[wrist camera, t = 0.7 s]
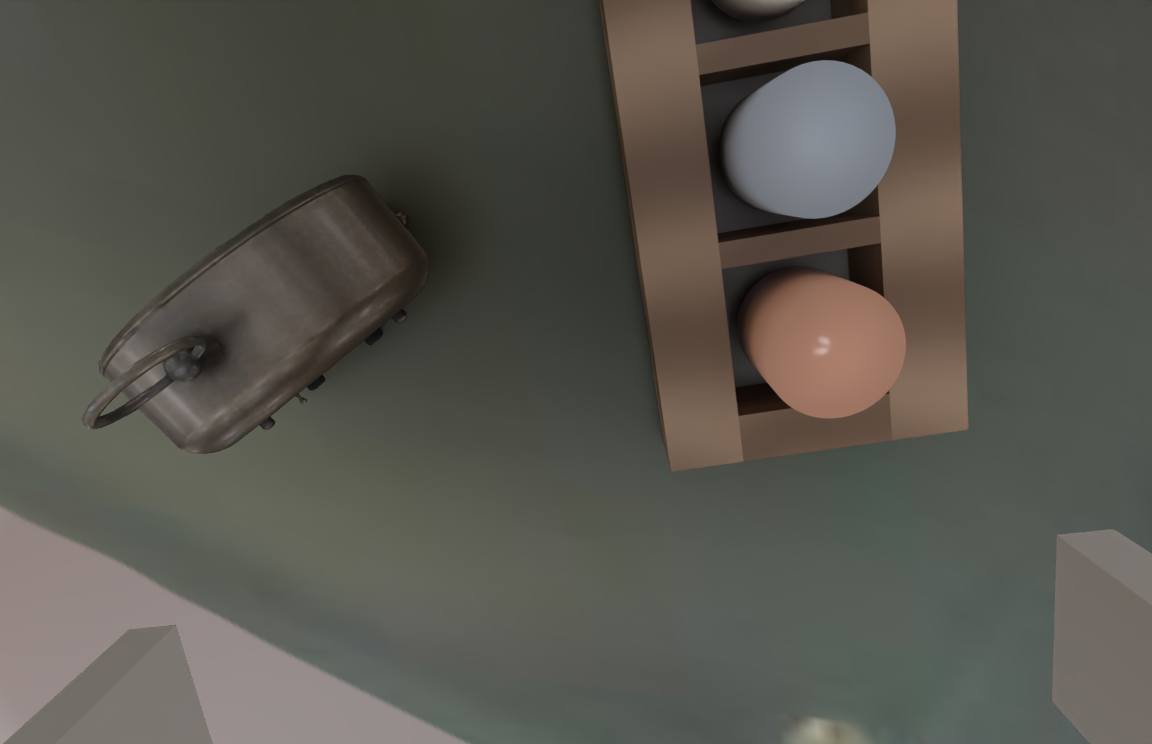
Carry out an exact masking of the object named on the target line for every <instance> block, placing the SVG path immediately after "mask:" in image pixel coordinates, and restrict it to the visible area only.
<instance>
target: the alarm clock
mask: <svg viewBox="0 0 1152 744" xmlns="http://www.w3.org/2000/svg"><path fill="white" fill-rule="evenodd" d="M407 223H408V216H407V215H406V214H405V213H404V212H402V211H398V212H397V213H396V214H394V213H393V212H392V211H391V209H390V208H389V207H388V206H387V205H386V203H385V202H384V201H383V200H382V199H381V197H380V196H379V195H378V194H377V192H376V191H375V190H374V189H373V188H372V186H371V185H370V184H369V183H368V181H367V180H366V179H365V178H363V177H362V176H358V175H344V176H341V177H338V178H335V179H333V180H330V181H328V182H325V183H323V184H321V185H319V186H317V187H315V188H313V189H311V190H309V191H307V192H305V193H303V194H301V195H299V196H297V197H295V198H293V199H291V200H289V201H287V202H286V203H284V204H283V205H281V206H280V207H278V208H277V209H275V210H273V211H272V212H270V213H268V214H266V215H265V216H264V217H263V218H262V219H260V220H259V221H257V222H256V223H254V224H252V225H250V226H249V227H248V228H246V229H245V230H244V231H242V232H240V233H239V234H238V235H236V236H235V237H233V238H231V239H230V240H228V241H227V242H225V243H224V244H223V245H221V246H219V247H218V248H217V249H216V250H214V251H213V252H211V253H210V254H208V255H207V256H206V257H204V258H203V259H201V260H200V261H198V262H197V263H196V264H195V265H194V266H193V267H191V268H190V269H189V270H188V271H186V272H185V273H183V274H182V275H181V276H180V277H178V278H177V279H176V280H175V281H174V282H173V283H171V284H170V285H169V286H168V287H167V288H166V289H164V290H163V291H162V292H161V293H160V294H158V295H157V296H156V297H155V298H154V299H153V300H152V301H151V302H149V303H148V304H147V305H146V306H145V307H144V308H143V309H142V310H141V311H140V312H139V313H138V314H137V315H136V316H134V317H133V318H132V319H131V320H130V321H129V322H128V324H127V325H126V326H125V327H124V328H123V329H122V330H121V331H120V332H119V333H118V335H117V336H116V337H115V338H114V339H113V340H112V341H111V343H110V344H109V346H108V347H107V348H106V350H105V351H104V353H103V354H102V355H101V357H100V360H99V371H100V374H101V375H102V376H103V377H105V378H107V379H108V380H109V381H110V382H111V384H110V385H109V386H108V387H107V388H106V389H105V390H103V391H102V392H101V393H100V394H99V395H98V396H97V397H96V398H95V399H94V400H93V401H92V403H91V404H90V405H89V406H88V408H87V410H86V412H85V413H84V415H83V416H82V421H83V424H84V426H86V427H87V428H89V429H98V428H102V427H105V426H107V425H109V424H111V423H113V422H115V421H117V420H119V419H121V418H123V417H125V416H127V415H129V414H130V413H132V412H134V411H136V410H137V409H139V410H140V411H141V412H142V413H143V414H144V415H146V416H147V417H148V418H149V419H150V420H151V421H152V422H153V423H154V424H155V425H156V426H157V427H158V428H159V429H160V430H161V431H162V432H163V433H164V434H165V435H166V436H167V437H168V438H169V439H170V440H171V441H172V442H173V443H174V444H175V445H176V446H177V447H178V448H180V449H182V450H184V451H187V452H190V453H198V454H207V453H214V452H217V451H221V450H223V449H226V448H228V447H230V446H232V445H233V444H235V443H236V442H238V441H239V440H240V439H242V438H243V437H244V436H245V435H247V434H248V433H249V432H251V431H252V430H253V429H255V428H256V427H257V426H258V425H260V426H261V427H262V428H263V429H264V430H268V429H270V428H272V427H273V426H274V424H275V421H274V420H273V419H272V418H271V415H273V414H274V413H275V412H276V411H277V410H279V409H280V408H281V407H282V406H283V405H285V404H286V403H287V402H288V401H289V400H291V399H292V398H293V397H294V396H296V397H298V398H299V400H300V402H301V404H304V403H306V402H307V399H305V398H303V397H301V396H300V395H299V392H301V391H302V390H303V389H305V388H306V387H308V389H309V390H314V389H316V388H318V387H319V386H320V385H321V384H322V383H323V382H325V377H324V376H323V375H322V374H323V373H325V372H326V371H327V370H328V369H330V368H331V367H332V366H333V365H334V364H336V363H337V362H338V361H339V360H341V359H342V358H343V357H344V356H345V355H347V354H348V353H349V352H350V351H352V350H353V349H354V348H355V347H356V346H358V345H359V344H360V343H361V342H362V341H365V342H366V343H367V344H369V345H372V344H374V343H375V342H376V341H377V340H379V339H380V338H381V336H382V335H383V332H382V330H381V329H380V328H379V327H380V326H382V325H383V324H384V323H385V322H386V321H388V320H389V319H390V318H392V319H393V320H394V321H395V322H396V323H398V324H399V323H402V322H404V321H405V320H406V318H407V313H406V312H405V311H404V310H403V309H402V308H403V307H404V306H405V305H407V304H408V303H409V302H410V301H411V300H412V299H413V298H415V297H416V296H417V295H418V293H419V292H420V291H421V289H422V288H423V286H424V284H425V282H426V280H427V276H428V269H429V265H428V258H427V255H426V252H425V251H424V250H423V248H422V247H421V246H420V244H419V243H418V242H417V241H416V240H415V238H414V237H413V236H412V235H411V233H410V232H409V231H408V230H407V229H406V227H405V225H406V224H407ZM120 392H122V393H123V394H124V395H125V396H126V397H127V398H128V399H129V400H130V401H129V402H127V403H126V404H124V405H123V406H121V407H119V408H118V409H116V410H115V411H113V412H110V413H108V414H105V415H103V416H100V414H101V412H102V411H103V410H104V409H105V407H106V406H107V405H108V404H109V403H110V402H111V401H112V400H113V399H114V398H115V397H116V396H117V395H118V394H119V393H120ZM99 416H100V417H99Z"/></svg>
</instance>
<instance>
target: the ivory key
mask: <svg viewBox="0 0 1152 744" xmlns="http://www.w3.org/2000/svg"><path fill="white" fill-rule="evenodd" d="M711 1H712V2H713V3H714V4H715V5H716V6H717V7H718V8H719V9H720V10H722V11H723V12H725V13H726V14H728V15H730V16H732V17H734V18H736V19H739V20H742V21H748V22H766V21H771V20H775V19H778V18H780V17H783V16H785V15H787V14H789V13H790V12H792V11H793V10H795V9H796V8H797V7H799V6H800V5H801V4H802V3H803V2H805V1H806V0H711Z"/></svg>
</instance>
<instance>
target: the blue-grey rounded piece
mask: <svg viewBox="0 0 1152 744" xmlns="http://www.w3.org/2000/svg"><path fill="white" fill-rule="evenodd" d="M895 138H896V127H895V118H894V114H893V110H892V107H891V104H890V102H889V99H888V97H887V96H886V94H885V92H884V91H883V89H882V88H881V87H880V85H879V84H878V83H877V82H876V81H875V80H874V79H873V78H872V77H871V76H870V75H869V74H867V73H866V72H864V71H863V70H861V69H859V68H857V67H855V66H853V65H850V64H847V63H844V62H839V61H831V60H821V61H813V62H809V63H805V64H802V65H799V66H797V67H794V68H792V69H790V70H788V71H787V72H785V73H783V74H781V75H780V76H778V77H776V78H775V79H773V80H771V81H770V82H768V83H766V84H765V85H763V86H761V87H760V88H758V89H756V90H755V91H753V92H751V93H750V94H748V95H747V96H746V97H744V98H743V99H742V100H741V101H740V102H739V103H738V104H737V105H736V106H735V107H734V108H733V110H732V111H731V112H730V114H729V115H728V117H727V118H726V120H725V122H724V125H723V127H722V130H721V133H720V136H719V141H718V149H717V155H718V165H719V169H720V172H721V176H722V178H723V180H724V182H725V184H726V186H727V187H728V189H729V190H730V191H731V192H732V194H733V195H734V196H735V197H736V198H737V199H739V200H740V201H741V202H742V203H744V204H746V205H747V206H749V207H751V208H753V209H756V210H760V211H764V212H770V213H776V214H782V215H788V216H794V217H800V218H809V219H817V218H825V217H830V216H834V215H837V214H839V213H842V212H845V211H846V210H848V209H850V208H852V207H854V206H855V205H857V204H858V203H860V202H861V201H862V200H863V199H865V198H866V197H867V196H868V195H869V194H870V193H871V192H872V191H873V190H874V189H875V188H876V186H877V185H878V183H879V182H880V181H881V179H882V178H883V176H884V174H885V172H886V170H887V169H888V166H889V164H890V161H891V158H892V155H893V151H894V146H895Z"/></svg>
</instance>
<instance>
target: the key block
mask: <svg viewBox="0 0 1152 744" xmlns="http://www.w3.org/2000/svg"><path fill="white" fill-rule="evenodd" d="M599 6H600V13H601V20H602V26H603V33H604V40H605V47H606V54H607V61H608V68H609V74H610V81H611V88H612V95H613V102H614V109H615V116H616V122H617V129H618V136H619V143H620V150H621V157H622V163H623V170H624V177H625V184H626V191H627V198H628V205H629V211H630V218H631V225H632V232H633V239H634V246H635V253H636V259H637V266H638V273H639V280H640V287H641V294H642V301H643V307H644V314H645V321H646V328H647V335H648V342H649V349H650V355H651V362H652V369H653V376H654V383H655V390H656V397H657V403H658V410H659V417H660V424H661V431H662V438H663V442H664V446H665V450H666V454H667V458H668V462H669V466H670V470H671V472H675V471H682V470H689V469H696V468H703V467H710V466H717V465H724V464H731V463H738V462H745V461H752V460H759V459H766V458H773V457H779V456H786V455H793V454H800V453H807V452H814V451H821V450H828V449H835V448H842V447H849V446H856V445H863V444H870V443H877V442H884V441H891V440H898V439H905V438H912V437H919V436H926V435H933V434H940V433H947V432H954V431H961V430H968V402H967V364H966V325H965V286H964V248H963V209H962V171H961V132H960V94H959V55H958V16H957V0H806V1H805V2H803V3H802V4H801V5H800V6H799V7H797V8H796V9H795V10H793V11H792V12H790V13H789V14H787V15H785V16H783V17H780V18H778V19H775V20H771V21H766V22H748V21H742V20H739V19H736V18H734V17H732V16H730V15H728V14H726V13H725V12H723V11H722V10H720V9H719V8H718V7H717V6H716V5H715V4H714V3H713V2H712V1H711V0H599ZM821 60H831V61H839V62H844V63H847V64H850V65H853V66H855V67H857V68H859V69H861V70H863V71H864V72H866V73H867V74H869V75H870V76H871V77H872V78H873V79H874V80H875V81H876V82H877V83H878V84H879V85H880V87H881V88H882V89H883V91H884V92H885V94H886V96H887V97H888V99H889V102H890V104H891V107H892V110H893V114H894V118H895V127H896V138H895V146H894V151H893V155H892V158H891V161H890V164H889V166H888V169H887V170H886V172H885V174H884V176H883V178H882V179H881V181H880V182H879V183H878V185H877V186H876V188H875V189H874V190H873V191H872V192H871V193H870V194H869V195H868V196H867V197H866V198H865V199H863V200H862V201H861V202H860V203H858V204H857V205H855V206H854V207H852V208H850V209H848V210H846V211H845V212H842V213H839V214H837V215H834V216H830V217H825V218H817V219H809V218H800V217H794V216H788V215H782V214H776V213H770V212H764V211H760V210H756V209H753V208H751V207H749V206H747V205H746V204H744V203H742V202H741V201H740V200H739V199H737V198H736V197H735V196H734V195H733V194H732V192H731V191H730V190H729V189H728V187H727V186H726V184H725V182H724V180H723V178H722V176H721V172H720V169H719V165H718V155H717V149H718V141H719V136H720V133H721V130H722V127H723V125H724V122H725V120H726V118H727V117H728V115H729V114H730V112H731V111H732V110H733V108H734V107H735V106H736V105H737V104H738V103H739V102H740V101H741V100H742V99H743V98H744V97H746V96H747V95H748V94H750V93H751V92H753V91H755V90H756V89H758V88H760V87H761V86H763V85H765V84H766V83H768V82H770V81H771V80H773V79H775V78H776V77H778V76H780V75H781V74H783V73H785V72H787V71H788V70H790V69H792V68H794V67H797V66H799V65H802V64H805V63H809V62H813V61H821ZM792 266H808V267H814V268H817V269H820V270H823V271H825V272H828V273H830V274H833V275H836V276H838V277H841V278H843V279H846V280H849V281H851V282H854V283H856V284H859V285H862V286H864V287H867V288H869V289H871V290H873V291H875V292H877V293H878V294H880V295H881V296H883V297H884V298H885V299H886V300H887V301H888V302H889V303H890V304H891V305H892V306H893V308H894V309H895V310H896V312H897V314H898V315H899V317H900V319H901V322H902V324H903V327H904V331H905V337H906V353H905V359H904V363H903V366H902V369H901V371H900V373H899V376H898V378H897V379H896V381H895V383H894V384H893V386H892V387H891V388H890V389H889V391H888V392H887V393H886V394H885V395H884V396H883V397H882V398H881V399H880V400H878V401H877V402H876V403H875V404H873V405H872V406H870V407H868V408H867V409H865V410H863V411H861V412H859V413H856V414H853V415H850V416H846V417H841V418H831V419H830V418H818V417H812V416H809V415H806V414H803V413H801V412H799V411H796V410H795V409H793V408H792V407H790V406H789V405H788V404H786V403H785V402H784V401H783V400H782V399H781V398H780V397H779V396H778V395H777V394H776V392H775V391H774V390H773V389H772V388H771V386H770V385H769V384H768V383H767V382H766V381H765V379H764V378H763V377H762V376H761V375H760V373H759V372H758V371H757V370H756V369H755V368H754V366H753V365H752V364H751V363H750V362H749V360H748V359H747V358H746V356H745V355H744V353H743V351H742V349H741V347H740V344H739V341H738V335H737V318H738V314H739V310H740V307H741V305H742V303H743V301H744V299H745V297H746V295H747V294H748V292H749V291H750V290H751V289H752V288H753V286H754V285H755V284H756V283H758V282H759V281H760V280H761V279H762V278H764V277H765V276H767V275H768V274H770V273H772V272H774V271H777V270H780V269H782V268H787V267H792Z"/></svg>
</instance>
